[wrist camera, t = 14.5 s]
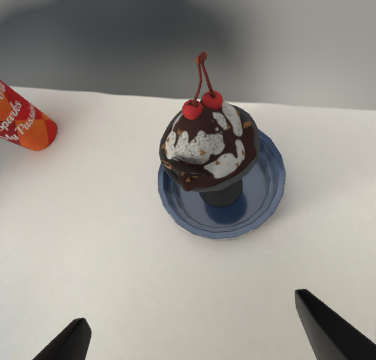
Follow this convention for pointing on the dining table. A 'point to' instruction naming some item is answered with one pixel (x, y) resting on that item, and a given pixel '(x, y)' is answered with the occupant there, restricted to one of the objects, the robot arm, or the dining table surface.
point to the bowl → (235, 213)
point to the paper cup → (24, 121)
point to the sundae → (210, 146)
